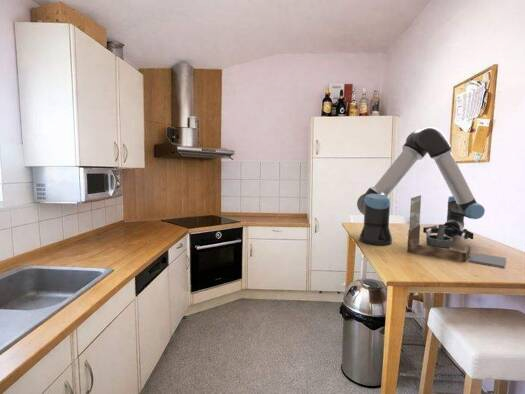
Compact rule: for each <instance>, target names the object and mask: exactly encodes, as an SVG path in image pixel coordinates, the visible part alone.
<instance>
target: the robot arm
mask: <svg viewBox="0 0 525 394" xmlns="http://www.w3.org/2000/svg"><path fill="white" fill-rule="evenodd" d="M401 147H402V151H401V152H400V154H399V155H398V156H397V158H396V159H395V160H394V161H393V162H392V164H391V165H390V166H389V168H388V169H387V170H386V171H385V172H384V174H383V175H382V176H381V178H379V180H378V181H377V182H376V183H375V185H374V186H371V187H369V188H368V189H367V190H366V191H365V193H363V194H361V195H360V196H358V197H359V198H358V199H357V201H356V207H357V209H358V211H359V213H361V214H362V215H363V227H362V230H361V232H360V235H359V241H360V242H361V243H364V244H367V245H372V246H373V245H374V246H387V245H391V244H393V237H392V234H391V231H390V225H389V224H390V209H391V199H390V197H389V195H390V194H391V193H392V192H393V190H394V189H395V188H396V187H397V186H398V184H399V183H400V182H401V180H402V179H403V178H404V177H405V176H406V175H407V173H408V172H409V171H410V170H411V168H412V167H413V166H414V164H416V162H417V161H419V160H423V158H424V157H425V156H426V155H427V154H428V155H429V157H430V159H432V160H434V162H435V164H436V166H437V167H438V170H439V171H440V174H441V175H442V177H443V179H444V181H445V183H446V185H447V187H448V189H449V191H450V193H451V195H449V196H448V201H447V210H446V211H447V212H446V213H447V215H446V222H445V223H444V224H443V225H445V226H446V228H445V231H444V236H447V237H450V238H453V237H457V236H458V237H460V242H464V241H465V240H468V239H470V240H474V233H473V232H471V231H469V230H468V229H466V228H465V218H467V219H470V220H478V219H481V218H483V216H484V215H485V207H484V206H483V205H482V204H480V203H478V202H477V200H476V199H475V196H474V194H473V192H472V191H471V188H470V187H469V185H468V182H467V180H466V178H465V176H464V175H463V173H462V171H461V169H460V167H459V165H458V163H457V161H456V159H455V157H454V156H453V154H452V151H453V148H452V146H451V144H450V142H449V140H448V138H447V137H446V135H445V134H444V133H443V132H442V131H441V130H440V129H438V128H436V127H433V126H431V127H429V126H428V127H425V128H422V129H416V130H414V131H411V133H409V134H408V136H407V137H406V140H405V143H404V144H403V145H402V146H401ZM438 229H439V227H438V225H433V226H432V225H431V226H424V227H423V231H422V233H423V234H426V235H425V236H426V237H427V236H428V235H432V234H437V233H438Z"/></svg>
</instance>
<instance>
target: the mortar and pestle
mask: <svg viewBox="0 0 525 394" xmlns="http://www.w3.org/2000/svg"><path fill="white" fill-rule="evenodd" d="M437 227H438V228H439V229H438V233H436V234H431V235H428V236H426V245H427V246H433V247H440V248H446V249H451V247H452V244H453V240H454V239H453V237H449V236H447V235H445V234H444V231H445V228H446V226H445V225H444V224H438V225H437Z"/></svg>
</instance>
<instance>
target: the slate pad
mask: <svg viewBox="0 0 525 394" xmlns="http://www.w3.org/2000/svg"><path fill="white" fill-rule="evenodd" d="M468 262H469V263H474V264H479V265H484V266H489V267H496V268H502V269H504V268H505V265H506V264H505V263H506V257H504V256H497V255H492V254H491V255H490V254H483V253H479V252H472V253H471V254H470V255H469V257H468Z"/></svg>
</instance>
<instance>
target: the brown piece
mask: <svg viewBox="0 0 525 394" xmlns="http://www.w3.org/2000/svg"><path fill="white" fill-rule="evenodd" d="M421 203H422V195H416V196H414V197H411V198H410V206H409V207H410V208H409V209H410V210H409V214H410V215H409V227H408V228H409V229H408V230H407V231H408V234H407V238H408V239H407V253H411V254H418V255H422V256H423V255H424V256H428V257H433V258H439V259H445V260H450V261H456V262H461V263H467V261H468V260H469V258H470V256H471V251H472V250H471V249H472V246H471V245H467V246H466V247H465V248H464V250H457V249H451V248H449V249H446V248H440V247H433V246H428V244H421V243H420V236H421V233H420V232H421V222H420V221H421Z"/></svg>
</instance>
